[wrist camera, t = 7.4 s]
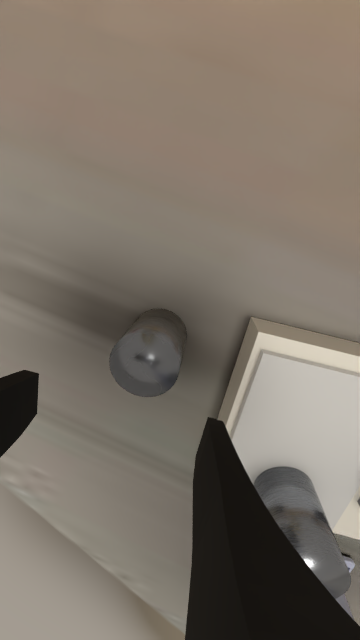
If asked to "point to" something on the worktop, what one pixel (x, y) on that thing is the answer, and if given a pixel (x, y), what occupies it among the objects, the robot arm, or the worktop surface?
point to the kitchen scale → (299, 413)
